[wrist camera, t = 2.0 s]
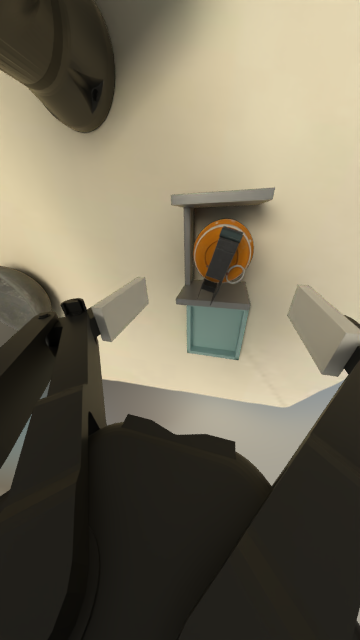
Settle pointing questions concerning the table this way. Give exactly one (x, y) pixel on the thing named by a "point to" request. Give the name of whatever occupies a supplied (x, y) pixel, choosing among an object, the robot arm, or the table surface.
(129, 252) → the table surface
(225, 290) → the dock
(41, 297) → the bowl
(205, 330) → the tray
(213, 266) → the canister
